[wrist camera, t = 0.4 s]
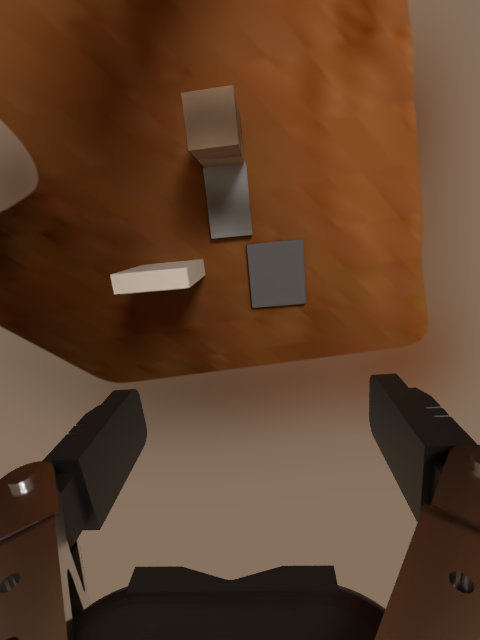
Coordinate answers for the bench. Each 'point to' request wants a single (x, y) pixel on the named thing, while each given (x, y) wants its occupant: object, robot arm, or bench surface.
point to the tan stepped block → (219, 158)
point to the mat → (277, 273)
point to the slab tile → (158, 277)
